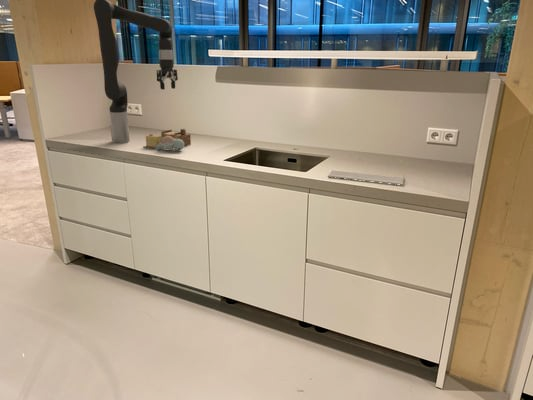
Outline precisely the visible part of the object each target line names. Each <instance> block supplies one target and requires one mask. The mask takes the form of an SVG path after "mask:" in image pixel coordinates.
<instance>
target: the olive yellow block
mask: <svg viewBox="0 0 533 400" xmlns="http://www.w3.org/2000/svg"><path fill="white" fill-rule="evenodd" d="M162 138H163V137H162V136H161V135H158V134H154V133H149V134H147V135H146V134H145V146H147V147H153V148H156V146H157V145H159V143H160V142H161V139H162Z"/></svg>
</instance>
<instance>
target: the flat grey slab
mask: <svg viewBox="0 0 533 400" xmlns="http://www.w3.org/2000/svg"><path fill="white" fill-rule="evenodd" d="M328 177H336V178H346V179H357V180H365V181H374V182H382V183H391V184H400V185H403V186H404V182H405V174H404V177H399V176H398V177H397V176H392V175H391V176H389V175H381V174H380V175H379V174H372V173H371V174H370V173H359V172H351V171H343V170H342V171H341V170H333V169H332V170H331V171H330V173H329V174H327V178H328ZM336 178H335V179H336Z"/></svg>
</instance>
